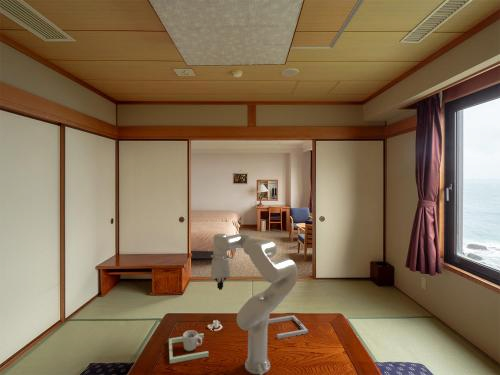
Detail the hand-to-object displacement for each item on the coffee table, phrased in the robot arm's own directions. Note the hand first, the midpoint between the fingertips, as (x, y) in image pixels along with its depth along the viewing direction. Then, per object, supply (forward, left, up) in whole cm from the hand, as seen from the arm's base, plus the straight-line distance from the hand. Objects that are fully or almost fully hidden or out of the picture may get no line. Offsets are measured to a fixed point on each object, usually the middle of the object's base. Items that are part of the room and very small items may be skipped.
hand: (220, 288), depth 156 cm
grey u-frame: (+4, -42, -31) cm, 52 cm away
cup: (0, +15, -31) cm, 35 cm away
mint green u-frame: (0, +17, -31) cm, 35 cm away
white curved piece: (+20, 0, -32) cm, 38 cm away
